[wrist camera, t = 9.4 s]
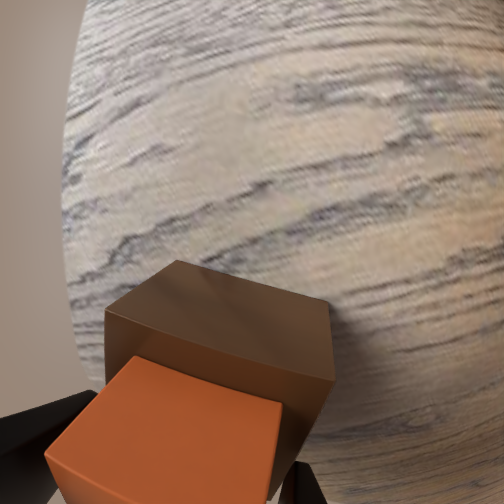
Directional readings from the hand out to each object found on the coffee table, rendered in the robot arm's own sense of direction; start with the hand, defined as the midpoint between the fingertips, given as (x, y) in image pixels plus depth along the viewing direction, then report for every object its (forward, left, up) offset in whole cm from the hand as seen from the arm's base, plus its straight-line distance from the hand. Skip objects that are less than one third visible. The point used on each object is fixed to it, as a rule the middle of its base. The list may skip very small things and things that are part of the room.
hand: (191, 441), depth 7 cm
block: (0, 0, 0) cm, 0 cm away
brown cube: (0, 0, -6) cm, 6 cm away
